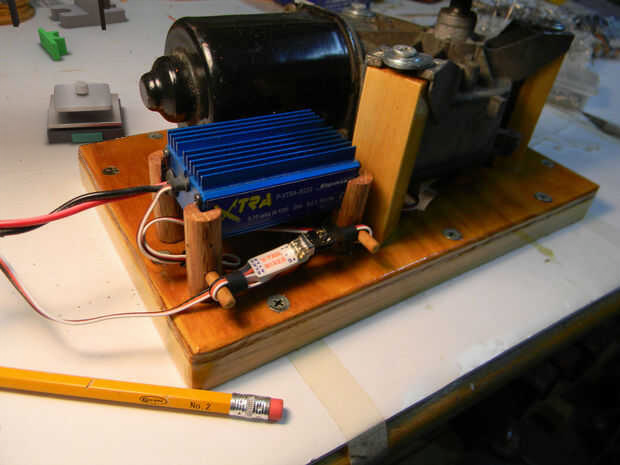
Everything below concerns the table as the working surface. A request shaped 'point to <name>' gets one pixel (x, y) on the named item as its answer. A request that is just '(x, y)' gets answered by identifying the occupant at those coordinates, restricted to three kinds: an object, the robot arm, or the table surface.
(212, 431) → the table surface
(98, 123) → the scale pan
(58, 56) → the pipe clamp
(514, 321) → the table surface
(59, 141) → the kitchen scale
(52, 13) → the bracket
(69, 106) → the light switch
